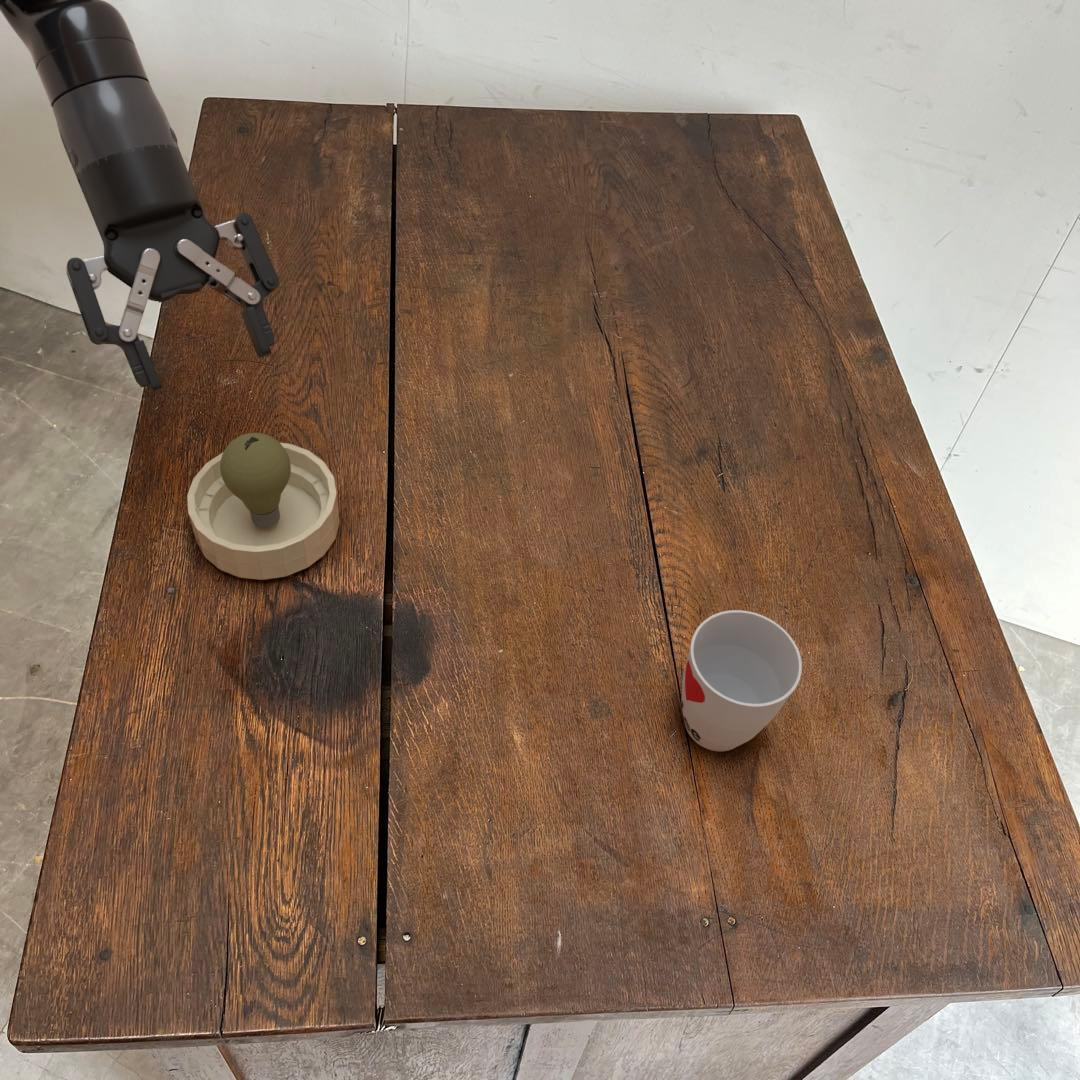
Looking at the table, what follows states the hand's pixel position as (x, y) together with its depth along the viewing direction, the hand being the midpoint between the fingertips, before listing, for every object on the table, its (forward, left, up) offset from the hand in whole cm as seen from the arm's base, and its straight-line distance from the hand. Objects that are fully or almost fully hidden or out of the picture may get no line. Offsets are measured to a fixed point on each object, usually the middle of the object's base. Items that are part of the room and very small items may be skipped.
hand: (211, 373), depth 78 cm
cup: (+24, -38, -17) cm, 48 cm away
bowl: (+1, -3, -17) cm, 17 cm away
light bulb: (+1, -2, -16) cm, 16 cm away
